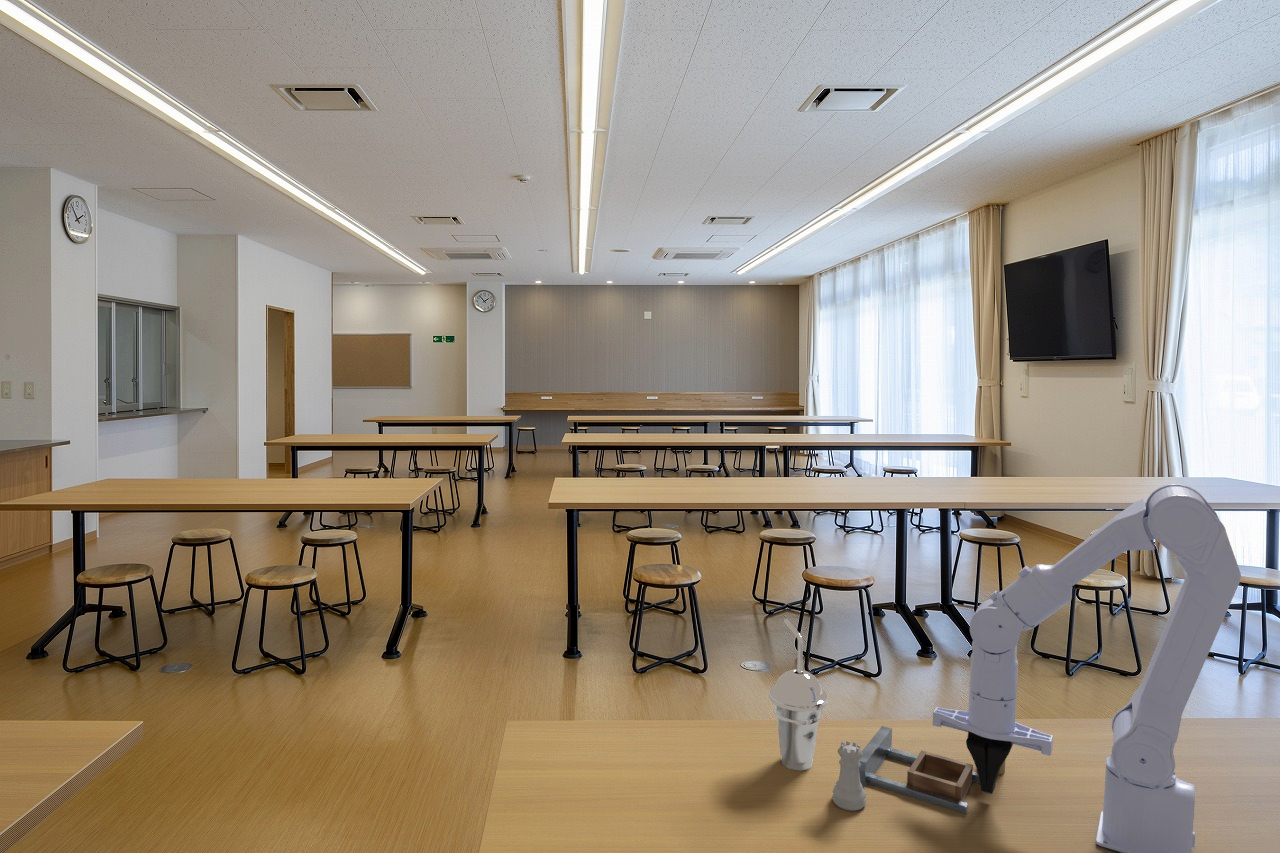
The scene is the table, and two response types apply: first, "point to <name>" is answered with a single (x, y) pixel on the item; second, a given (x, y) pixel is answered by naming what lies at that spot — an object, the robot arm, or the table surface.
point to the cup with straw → (797, 712)
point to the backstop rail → (870, 764)
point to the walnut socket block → (940, 775)
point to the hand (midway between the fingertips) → (987, 789)
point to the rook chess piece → (849, 779)
